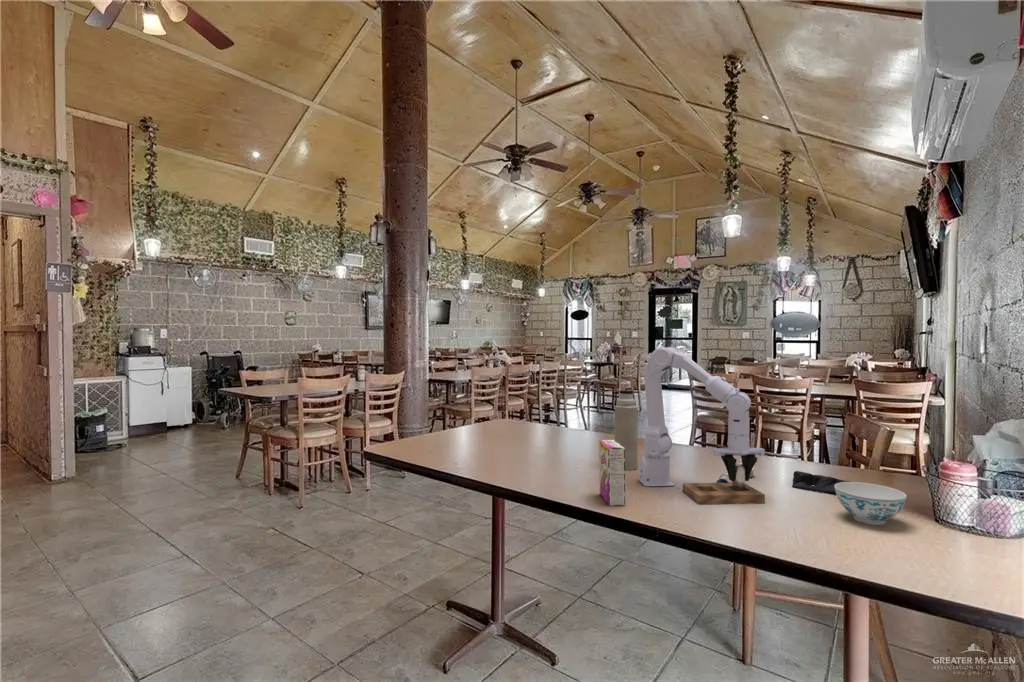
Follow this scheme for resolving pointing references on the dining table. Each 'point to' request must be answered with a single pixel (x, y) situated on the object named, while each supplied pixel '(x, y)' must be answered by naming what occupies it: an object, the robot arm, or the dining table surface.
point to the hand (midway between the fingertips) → (738, 480)
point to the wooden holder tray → (721, 493)
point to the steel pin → (739, 478)
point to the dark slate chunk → (815, 482)
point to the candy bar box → (612, 472)
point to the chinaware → (870, 501)
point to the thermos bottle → (627, 427)
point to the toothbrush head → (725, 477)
